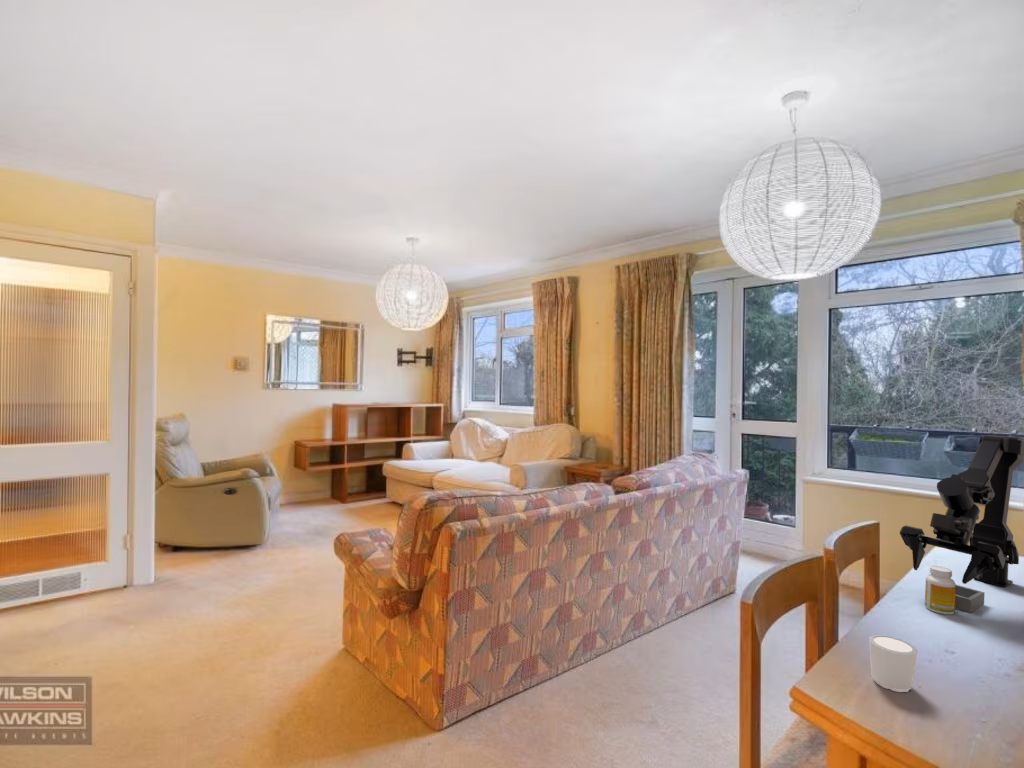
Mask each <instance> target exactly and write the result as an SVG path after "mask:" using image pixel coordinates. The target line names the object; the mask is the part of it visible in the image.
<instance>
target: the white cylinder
mask: <svg viewBox="0 0 1024 768" xmlns="http://www.w3.org/2000/svg"><path fill="white" fill-rule="evenodd" d="M868 646H869V647H868V648H869V659H870V660H869V662H870V672H871V673H870V674H871V675H872V677H873V679H875V680H876V681H877V682H879V683H881V684H883V685H884V686H888V687H890V688H896V689H908V688H911V686H912V687H913V678H914V673H915V667H916V662H917V661H916V660H917V656H918V655H917V654H918V650H917V647H915V645H912V644H911V643H910V642H907V641H905V640H903V639H901V638H897V637H895V636H890V635H884V634H873V635H870V636H869V638H868ZM872 677H871V678H872ZM911 689H912V688H911Z"/></svg>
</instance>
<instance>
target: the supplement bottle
mask: <svg viewBox="0 0 1024 768" xmlns="http://www.w3.org/2000/svg"><path fill="white" fill-rule="evenodd" d="M929 573H930V574H928V575H927V576H926V577H925V585H924V586H925V587H924V588H925V590H924V591H925V593H924V606H925V609H927V610H930V611H932V612H934V613H938V614H941V615H954V614H955V611H956V610H955V609H956V608H955V584H956V582H955V580H954V579H953V578H952V577H953V570H952V569H950V568H949V567H945V566H941V565H930V566H929Z"/></svg>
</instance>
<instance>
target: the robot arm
mask: <svg viewBox="0 0 1024 768" xmlns="http://www.w3.org/2000/svg"><path fill="white" fill-rule="evenodd" d="M978 443H979V446H978V447H977V450H976V451H975V454H974V456H973V458H972V460H971V462H970V463H969V465H968V468H967V469H966V470H964V471H962V472H959V473H957V474H954V473H952V474H951V476H950V477H944V478H943V479H940V481H938V482H937V483H936V489H937V492H938V494H939V496H940V498H941V502H942V504H943V505H944V506H945V507H946V508H947V509H946V511H945V514H943V513H942V514H941V513H937V512H936V513H935V512H933V513H932V514H931V518H930V519H931V520H930V524H929V527H931V528H933V530H932V532H933V535H936V537H935V536H931V535H926V534H925V532H924V530H923V528H920V527H914V526H911V525H903V526H902V527H901V528H900V531H899V535H900V537H901V539H902V541H903V543H904V545H905V546H907V547H908V548H909V550H911V552H912V553H911V554H912V566H913V570H914V571H918V569H919V568H920V565H921V563H922V561H923V558H924V556H925V553H926V551H925V549H926V548H927V545H930V546H934V547H938V548H943V549H947V550H949V551H953V552H958V553H962V554H966V555H970V556H971V558H970V561H969V563H968V565H967V566H966V568H965V569H966V570H964V571H965V572H964V573H963V577H962V580H961V581H962V584H964V585H965V584H968V583H969V582H970V581H972V580H976V581H979V582H984V583H988V584H991V585H995V586H999V587H1003V588H1007V587H1009V586H1010V585H1012V584H1014V583H1013V582H1014V581H1013V580H1011V579H1009V565H1011V566H1012V565H1019V564H1020V561H1019V560H1020V557H1019V556H1020V555H1019V554H1020V553H1019V551H1018V548H1017V545H1016V543H1015V541H1014V535H1013V533H1012V530H1011V529H1010V528H1009V526H1008V525H1007V520H1008V514H1009V508H1010V507H1009V505H1010V498H1011V497H1010V496H1011V491H1012V483H1013V474H1014V470H1016V468H1018V467H1019V466H1020V465H1022V463H1023V462H1024V440H1023V439H1022V438H1021V437H1018V436H1008V435H1007V436H1006V435H998V434H997V435H996V434H991V435H986V434H985V435H982V436H980V438H979V442H978ZM978 505H982V506H984V512H983V518H982V519H981V520H980V519H979V518H980V517H979V516H980V513H981V510H980V508H979V506H978ZM978 520H980V521H979V522H977V521H978ZM1011 583H1012V584H1011ZM1006 586H1007V587H1006Z"/></svg>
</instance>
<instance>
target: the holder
mask: <svg viewBox="0 0 1024 768" xmlns="http://www.w3.org/2000/svg"><path fill="white" fill-rule="evenodd" d="M983 606H985V592H984V591H981V590H977V589H973V588H970V587H967V586H963V585H960V584H956V583H955V609H957V610H959V611H963V612H966V613H969V614H970V613H973V612H974V611H976V610H978V609H979V608H982V607H983Z"/></svg>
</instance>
